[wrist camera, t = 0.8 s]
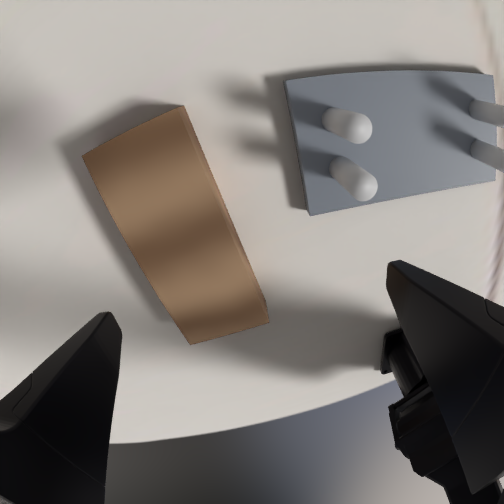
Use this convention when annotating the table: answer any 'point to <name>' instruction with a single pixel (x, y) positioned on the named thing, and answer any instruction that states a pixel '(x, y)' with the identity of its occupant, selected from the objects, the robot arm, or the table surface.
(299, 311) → the table surface
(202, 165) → the shelf board
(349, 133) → the peg stand
